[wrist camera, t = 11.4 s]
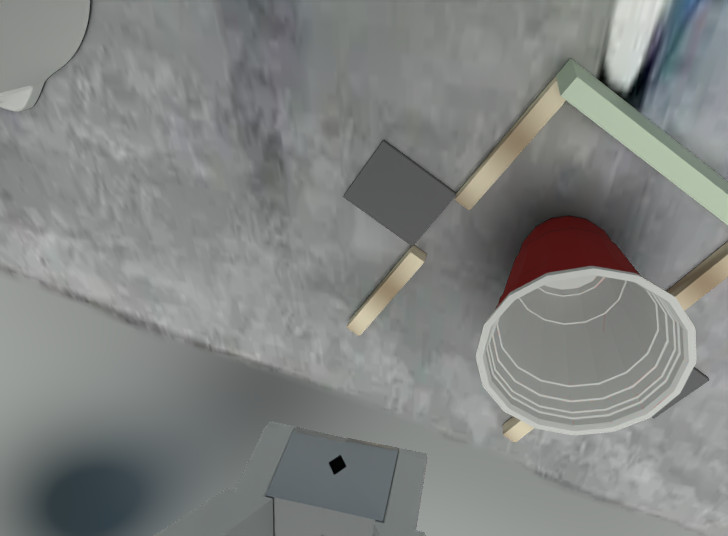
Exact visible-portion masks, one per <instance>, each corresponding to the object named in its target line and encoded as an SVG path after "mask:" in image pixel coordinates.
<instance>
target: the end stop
mask: <svg viewBox="0 0 728 536" xmlns="http://www.w3.org/2000/svg"><path fill="white" fill-rule="evenodd" d="M556 77H557V82H558V87H559V91H560V96H561V97H563V98H564V99H565V100H566V101H568V102H569V103H570V104H572V105H573V106H574V107H575V108H577V109H578V110H579V111H581V112H582V113H583V114H584V115H586V116H587V117H588V118H590V119H591V120H592V121H594V122H595V123H596V124H597V125H599V126H600V127H601V128H603V129H604V130H605V131H606V132H608V133H609V134H610V135H612V136H613V137H614V138H615V139H617V140H618V141H619V142H621V143H622V144H623V145H625V146H626V147H627V148H628V149H630V150H631V151H632V152H634V153H635V154H636V155H637V156H639V157H640V158H641V159H643V160H644V161H645V162H646V163H648V164H649V165H650V166H652V167H653V168H654V169H656V170H657V171H658V172H659V173H661V174H662V175H663V176H665V177H666V178H667V179H668V180H670V181H671V182H672V183H674V184H675V185H676V186H678V187H679V188H680V189H681V190H683V191H684V192H685V193H687V194H688V195H689V196H690V197H692V198H693V199H694V200H696V201H697V202H698V203H699V204H701V205H702V206H703V207H705V208H706V209H707V210H709V211H710V212H711V213H712V214H714V215H715V216H716V217H718V218H719V219H720V220H721V221H723V222H724V223H725V224H727V225H728V181H726V180H725V179H724V178H723V177H721V176H720V175H719V174H718V173H716V172H715V171H714V170H712V169H711V168H710V167H709V166H707V165H706V164H705V163H703V162H702V161H701V160H700V159H698V158H697V157H696V156H695V155H693V154H692V153H691V152H689V151H688V150H687V149H686V148H684V147H683V146H682V145H681V144H679V143H678V142H677V141H675V140H674V139H673V138H672V137H670V136H669V135H668V134H667V133H665V132H664V131H663V130H661V129H660V128H659V127H658V126H656V125H655V124H654V123H653V122H651V121H650V120H649V119H647V118H646V117H645V116H644V115H642V114H641V113H640V112H638V111H637V110H636V109H635V108H633V107H632V106H631V105H630V104H628V103H627V102H626V101H624V100H623V99H622V98H621V97H619V96H618V95H617V94H616V93H614V92H613V91H612V90H610V89H609V88H608V87H607V86H605V85H604V84H603V83H602V82H600V81H599V80H598V79H596V78H595V77H594V76H593V75H591V74H590V73H589V72H588V71H586V70H585V69H584V68H582V67H581V66H580V65H579V64H577V63H576V62H575V61H573V60H572V59H571V58H570V59H569V61H568V62H567V63H566V64H565V65H564V67H563V68H562V69H561V70H560V71H559V72H558V74H557V75H556Z"/></svg>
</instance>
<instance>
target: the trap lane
mask: <svg viewBox="0 0 728 536" xmlns="http://www.w3.org/2000/svg"><path fill="white" fill-rule="evenodd" d="M565 101H566V100H565V99H564V98H563V97H561V96H560V91H559V87H558V82H557V77H556V76H555V77H554V78H553V80H552V81H551V82H550V83H549V84H548V85H547V87H546V88H545V89H544V90H543V91H542V93H541V94H540V95H539V96H538V97H537V98H536V100H535V101H534V102H533V103H532V104H531V106H530V107H529V108H528V109H527V110H526V111H525V113H524V114H523V115H522V116H521V117H520V119H519V120H518V121H517V122H516V123H515V125H514V126H513V127H512V128H511V129H510V130H509V132H508V133H507V134H506V135H505V136H504V138H503V139H502V140H501V141H500V142H499V143H498V145H497V146H496V147H495V148H494V149H493V151H492V152H491V153H490V154H489V155H488V156H487V158H486V159H485V160H484V161H483V162H482V164H481V165H480V166H479V167H478V168H477V169H476V171H475V172H474V173H473V174H472V175H471V177H470V178H469V179H468V180H467V181H466V183H465V184H464V185H463V186H462V187H461V188H460V190H459V191H458V192H457V193H456V197H455V200H456V201H457V202H458V203H460V204H461V205H462V206H464V207H465V208H466V209H468V210H469V211H470V210H471V208H472V207H473V206H474V205H475V204H476V203H477V202H478V200H479V199H480V198H481V197H482V196H483V195H484V194H485V193H486V191H487V190H488V189H489V188H490V187H491V186H492V185H493V183H494V182H495V181H496V180H497V179H498V178H499V177H500V175H501V174H502V173H503V172H504V171H505V170H506V169H507V167H508V166H509V165H510V164H511V163H512V162H513V161H514V159H515V158H516V157H517V156H518V155H519V154H520V153H521V151H522V150H523V149H524V148H525V147H526V146H527V145H528V144H529V142H530V141H531V140H532V139H533V138H534V137H535V136H536V134H537V133H538V132H539V131H540V130H541V129H542V128H543V126H544V125H545V124H546V123H547V122H548V121H549V120H550V118H551V117H552V116H553V115H554V114H555V113H556V112H557V110H558V109H559V108H560V107H561V106H562V105H563V104H564V102H565ZM426 255H427V254H426V253H424V252H423V251H422V250H420V249H419V248H417V247H416V246H415V245H413V246H411V248H410V249H409V250H408V251H407V252H406V254H405V255H404V256H403V257H402V258H401V259H400V261H399V262H398V263H397V264H396V265H395V267H394V268H393V269H392V270H391V271H390V272H389V274H388V275H387V276H386V277H385V278H384V280H383V281H382V282H381V283H380V284H379V285H378V287H377V288H376V289H375V290H374V291H373V293H372V294H371V295H370V296H369V297H368V299H367V300H366V301H365V302H364V303H363V304H362V306H361V307H360V308H359V309H358V310H357V312H356V313H355V314H354V315H353V316H352V317H351V319H350V321H349V323H348V325H347V328H348V329H349V330H351V331H352V332H354V333H355V334H356V335H358V336H360V335H361V334H362V333H363V332H364V330H365V329H366V328H367V327H368V326H369V325H370V324H371V322H372V321H373V320H374V319H375V318H376V317H377V316H378V314H379V313H380V312H381V311H382V310H383V309H384V308H385V306H386V305H387V304H388V303H389V302H390V301H391V300H392V298H393V297H394V296H395V295H396V294H397V293H398V292H399V290H400V289H401V288H402V287H403V286H404V285H405V284H406V283H407V281H408V280H409V279H410V278H411V277H412V276H413V275H414V273H415V272H416V271H417V270H418V269H419V268H420V267H421V265H422V264H423V263H424V262H425V258H426ZM727 277H728V242H726V243H725V244H724V245H723V246H721V247H720V248H719V249H718V250H717V251H715V252H714V253H713V254H712V255H710V256H709V257H708V258H707V259H705V260H704V261H703V262H702V263H701V264H699V265H698V266H697V267H696V268H694V269H693V270H692V271H691V272H690V273H688V274H687V275H686V276H685V277H683V278H682V279H681V280H680V281H678V282H677V283H676V284H675V285H674V286H672V287H671V288H670V289H669V290H667V291H666V292H668V293H670V294H671V295H673V296H674V297H676V299H677V301H678V302H679V304H680V305H681V307H682V308H683V310H684V311H685V310H686V309H687V308H689V307H690V306H691V305H692V304H694V303H695V302H696V301H698V300H699V299H700V298H701V297H703V296H704V295H705V294H707V293H708V292H709V291H710V290H712V289H713V288H714V287H716V286H717V285H718V284H719V283H721V282H722V281H723V280H724V279H726V278H727ZM533 428H534V427H532V426H530V425H528V424H526V423H525V422H523V421H521V420H519V419H517V418H515V417H512V418H510V419H509V420H508V421H507V422H506V423H504V424H503V435H504V436H505V437H507V438H508V439H510V440H511V441H513V442H514V443H515V442H517V441H518V440H519V439H521V438H522V437H523V436H524V435H526V434H527V433H528V432H530V431H531V430H532V429H533Z"/></svg>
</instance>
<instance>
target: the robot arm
mask: <svg viewBox="0 0 728 536" xmlns="http://www.w3.org/2000/svg"><path fill="white" fill-rule="evenodd" d="M89 11H90V0H0V107H2V108H5V109H8V110H11V111H16V112H17V111H23V110H28V109H30V108H32V107H33V106H34V105H35V103H36V101H37V99H38V97H39V95H40V93H41V90H42V88H43V85H44V82H45V81H46V80H47V79H48V78H49V77H50V76H51V75H52V74H53V73H55V72H56V71H57V70H59V69H60V68H61V67H63V66H64V65H65V64H66V63H67V62H68V61H69V60H70V59H71V58H72V56H73V55H74V54H75V52H76V51H77V49H78V48H79V46H80V44H81V42H82V39H83V37H84V34H85V31H86V27H87V23H88V18H89ZM426 463H427V454H426V453H421V452H416V451H411V450H406V449H400V451H399V448H397V447H392V446H387V445H382V444H376V443H371V442H366V441H361V440H356V439H350V438H342V437H338V436H334V435H330V434H325V433H321V432H317V431H312V430H308V429H304V428H300V427H293V426H289V425H284V424H280V423H276V422H272V421H270V422H269V423H268V424H267V426H265V428H264V430H263V432H262V434H261V436H260V438H259V440H258V442H257V444H256V446H255V448H254V450H253V453H252V455H251V457H250V459H249V461H248V463H247V465H246V467H245V469H244V471H243V473H242V475H241V477H240V480H239V482H238V484H237V486H236V488H235V490H233V489H228V488H227V489H225V490H224V491H222V492H221V493H219V494H218V495H216V496H214V497H213V498H211V499H210V500H208V501H206V502H205V503H203V504H202V505H201V506H199V507H197V508H196V509H194V510H193V511H191V512H190V513H188V514H186V515H185V516H184V517H182V518H180V519H179V520H177V521H176V522H174V523H173V524H171V525H170V526H168V527H167V528H165V529H163V530H162V531H161V532H159V533H157V534H156V535H154V536H426V535H425V533H424V532H420V531H417V530H416V527H417V521H418V514H419V508H420V502H421V495H422V489H423V483H424V476H425V470H426Z"/></svg>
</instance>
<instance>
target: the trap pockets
mask: <svg viewBox="0 0 728 536" xmlns="http://www.w3.org/2000/svg"><path fill="white" fill-rule="evenodd" d="M455 196H456V192H454V191H453V190H452V189H450V188H449V187H448V186H446V185H445V184H443V183H442V182H441V181H439V180H438V179H437V178H435V177H434V176H433V175H431V174H430V173H428V172H427V171H426V170H424V169H423V168H422V167H420V166H419V165H418V164H416V163H415V162H413V161H412V160H411V159H409V158H408V157H407V156H405V155H404V154H403V153H401V152H400V151H398V150H397V149H396V148H394V147H393V146H392V145H390V144H389V143H388V142H386V141H385V140H383V142H382V143H381V144H380V146H379V147H378V149H377V150H376V151H375V153H374V154H373V156H372V157H371V158H370V160H369V161H368V163H367V164H366V165H365V167H364V168H363V170H362V171H361V172H360V174H359V175H358V177H357V178H356V179H355V181H354V182H353V184H352V185H351V186H350V188H349V189H348V190H347V192H346V193H345V195H344V196H343V197H344V198H346V199H347V200H348V201H350V202H351V203H353V204H354V205H355V206H357V207H358V208H360V209H361V210H362V211H364V212H365V213H367V214H368V215H369V216H371V217H372V218H374V219H375V220H376V221H378V222H379V223H381V224H382V225H383V226H385V227H386V228H388V229H389V230H390V231H392V232H393V233H395V234H396V235H397V236H399V237H400V238H402V239H403V240H404V241H406V242H407V243H409V244H410V245H411V246H413V245H414V244H415V243H416V242H417V240H418V239H419V238H420V237H421V236H422V235H423V233H424V232H425V231H426V230H427V229H428V227H429V226H430V225H431V224H432V223H433V222H434V220H435V219H436V218H437V217H438V216H439V214H440V213H441V212H442V211H443V210H444V209H445V207H446V206H447V205H448V204H449V203H450V201H451V200H452V199H453V198H454V197H455ZM707 381H709V378H708V377H707V376H705V375H704V374H703V373H701V372H700V371H699V370H697V369H696V368H693V370H692V372H691V373H690V375H689V377H688V379H687V381H686V383H685V385H684V387H683V389H682V391H681V393H680V394H679V395H678V396H676V397H675V398H674V399H673V400H671V401H670V402H669V403H668V404H667V405H665V406H664V407H663V408H662V409H661V410H659V411H658V412H657V413H656V414H654V415H653V416H652V418H655V417H657V416H658V415H660V414H661V413H662V412H664V411H665V410H667V409H668V408H670V407H671V406H673V405H674V404H676V403H677V402H678V401H680V400H681V399H683V398H684V397H686V396H687V395H689V394H690V393H691V392H693V391H694V390H696V389H697V388H699V387H700V386H702V385H703V384H705V383H706V382H707Z"/></svg>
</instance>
